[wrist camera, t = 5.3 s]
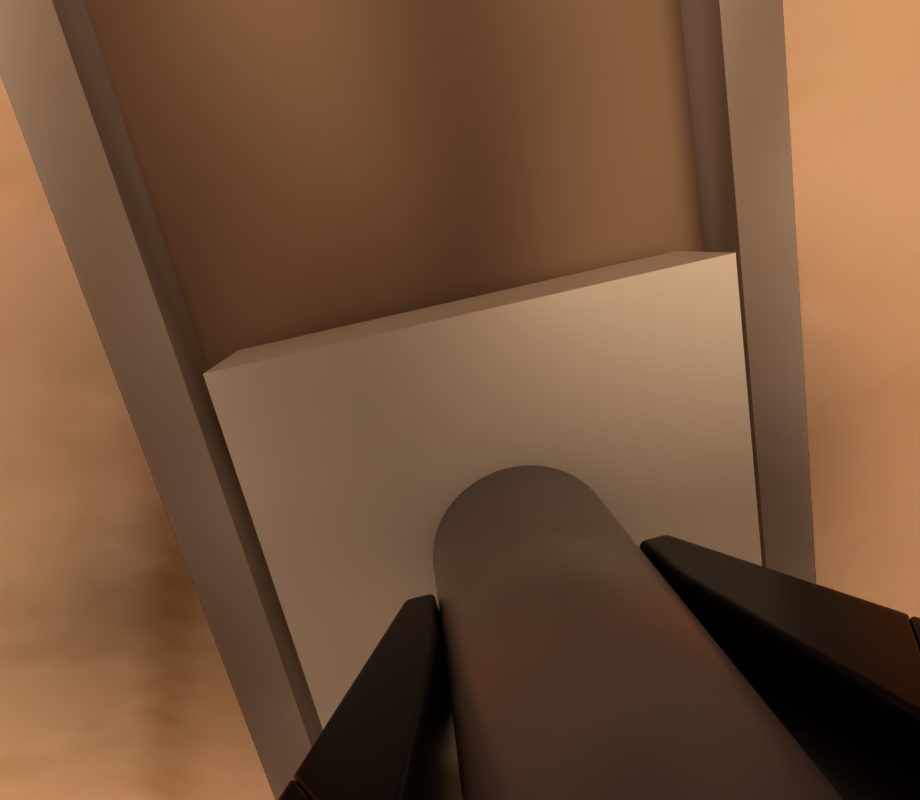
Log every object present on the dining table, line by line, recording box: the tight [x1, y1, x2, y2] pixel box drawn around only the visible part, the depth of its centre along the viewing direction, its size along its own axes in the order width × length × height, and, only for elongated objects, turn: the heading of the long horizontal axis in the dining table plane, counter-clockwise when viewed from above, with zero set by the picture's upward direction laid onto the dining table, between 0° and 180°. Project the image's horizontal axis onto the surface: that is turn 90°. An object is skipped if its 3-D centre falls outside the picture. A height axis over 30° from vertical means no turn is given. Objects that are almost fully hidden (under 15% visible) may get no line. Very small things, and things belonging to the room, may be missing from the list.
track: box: [0, 0, 816, 800], centre depth 12 cm, size 12×27×3 cm, turn 13°
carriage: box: [203, 251, 844, 800], centre depth 8 cm, size 8×8×8 cm
